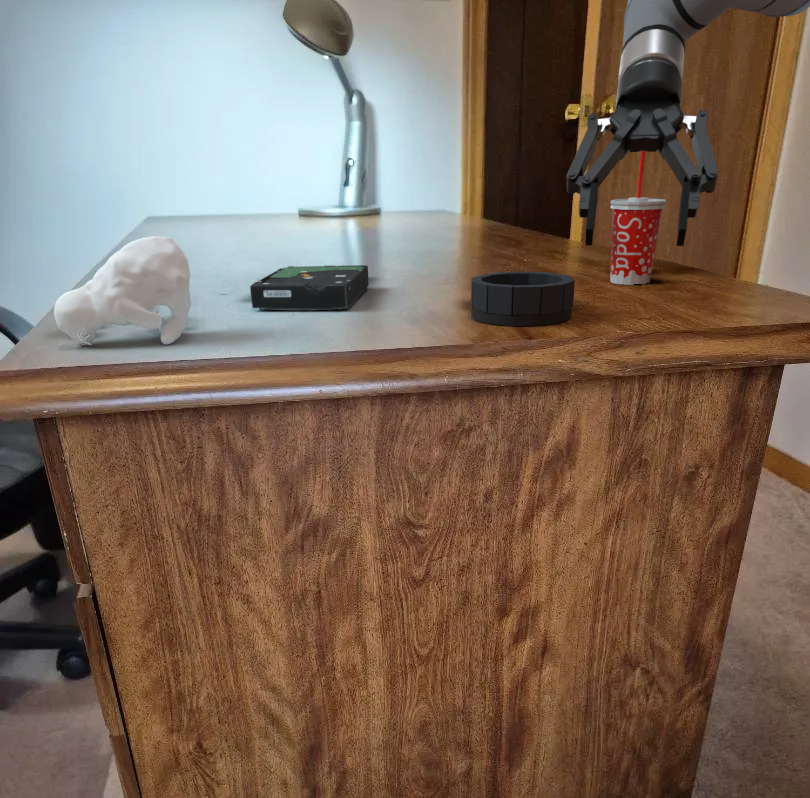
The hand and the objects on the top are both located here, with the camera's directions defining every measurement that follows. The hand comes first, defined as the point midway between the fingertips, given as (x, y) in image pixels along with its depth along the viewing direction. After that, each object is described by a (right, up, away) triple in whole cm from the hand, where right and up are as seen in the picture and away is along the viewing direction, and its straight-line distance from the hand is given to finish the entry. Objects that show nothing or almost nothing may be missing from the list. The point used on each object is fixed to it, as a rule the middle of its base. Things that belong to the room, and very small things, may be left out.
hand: (634, 237), depth 89 cm
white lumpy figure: (-50, -17, -19) cm, 56 cm away
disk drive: (-36, -7, -1) cm, 37 cm away
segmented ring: (-15, -12, -12) cm, 23 cm away
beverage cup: (+1, -4, +5) cm, 6 cm away
